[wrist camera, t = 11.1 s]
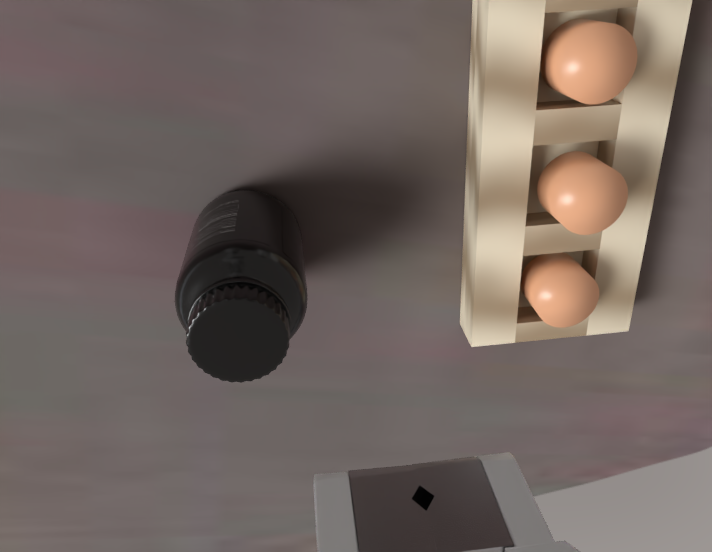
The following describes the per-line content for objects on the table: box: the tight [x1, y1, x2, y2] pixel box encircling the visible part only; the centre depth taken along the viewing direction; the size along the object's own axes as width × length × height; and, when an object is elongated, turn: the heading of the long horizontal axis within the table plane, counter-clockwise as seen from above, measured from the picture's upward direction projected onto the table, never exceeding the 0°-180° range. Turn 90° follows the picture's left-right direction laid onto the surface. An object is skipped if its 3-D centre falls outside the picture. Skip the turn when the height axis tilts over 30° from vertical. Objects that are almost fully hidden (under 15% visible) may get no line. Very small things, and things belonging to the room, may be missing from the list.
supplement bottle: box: [175, 190, 307, 382], centre depth 33 cm, size 7×7×12 cm
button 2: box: [540, 19, 637, 104], centre depth 32 cm, size 4×4×3 cm
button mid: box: [537, 151, 628, 235], centre depth 34 cm, size 4×4×3 cm
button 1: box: [520, 252, 599, 328], centre depth 39 cm, size 4×4×3 cm
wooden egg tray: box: [460, 0, 692, 347], centre depth 37 cm, size 22×11×3 cm, turn 3°
